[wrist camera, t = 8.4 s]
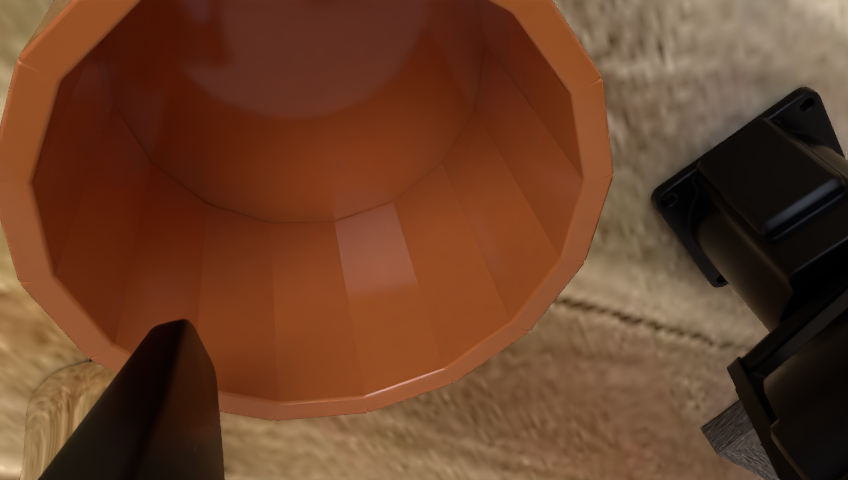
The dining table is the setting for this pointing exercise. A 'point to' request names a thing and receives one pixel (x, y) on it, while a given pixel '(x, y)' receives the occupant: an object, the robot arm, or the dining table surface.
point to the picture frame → (739, 441)
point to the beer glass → (59, 412)
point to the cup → (304, 186)
